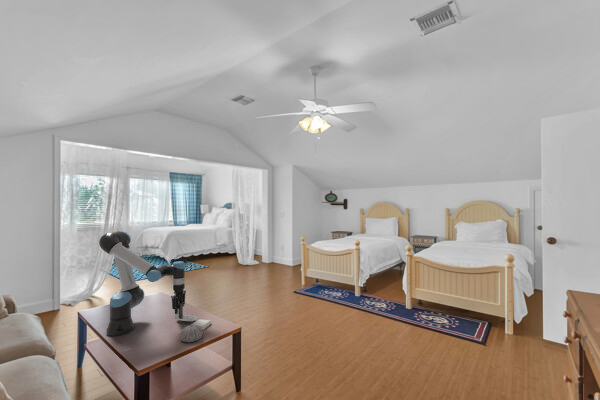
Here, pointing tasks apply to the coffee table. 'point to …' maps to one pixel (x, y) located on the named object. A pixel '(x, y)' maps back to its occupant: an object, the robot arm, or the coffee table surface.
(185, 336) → the sea urchin shell
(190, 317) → the grey l-shaped block
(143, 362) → the coffee table surface
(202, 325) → the tile
